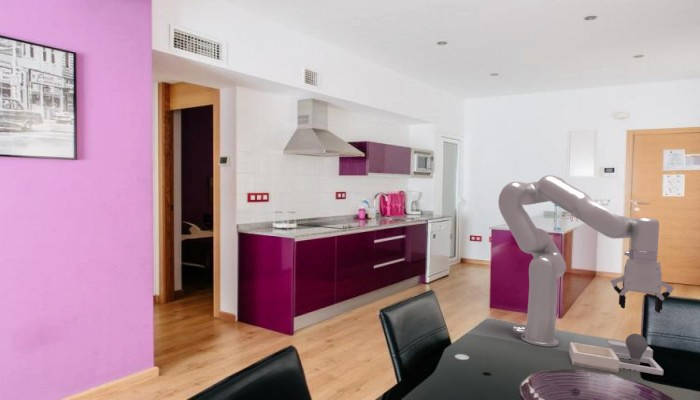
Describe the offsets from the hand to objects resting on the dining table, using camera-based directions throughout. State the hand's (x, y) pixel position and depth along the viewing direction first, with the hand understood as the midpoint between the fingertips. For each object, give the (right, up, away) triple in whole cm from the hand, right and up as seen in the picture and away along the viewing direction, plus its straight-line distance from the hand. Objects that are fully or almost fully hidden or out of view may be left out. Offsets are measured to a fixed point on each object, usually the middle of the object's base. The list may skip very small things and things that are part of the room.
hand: (639, 309), depth 148 cm
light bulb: (-1, -18, 0) cm, 18 cm away
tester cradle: (-1, -18, +2) cm, 18 cm away
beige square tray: (-16, -17, -1) cm, 23 cm away
